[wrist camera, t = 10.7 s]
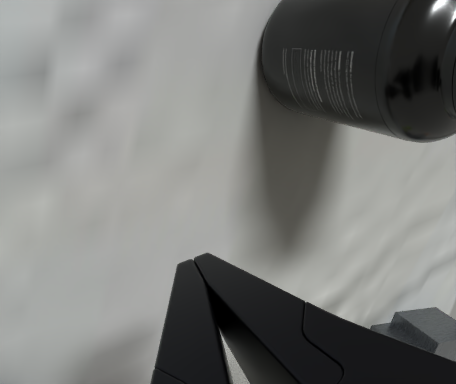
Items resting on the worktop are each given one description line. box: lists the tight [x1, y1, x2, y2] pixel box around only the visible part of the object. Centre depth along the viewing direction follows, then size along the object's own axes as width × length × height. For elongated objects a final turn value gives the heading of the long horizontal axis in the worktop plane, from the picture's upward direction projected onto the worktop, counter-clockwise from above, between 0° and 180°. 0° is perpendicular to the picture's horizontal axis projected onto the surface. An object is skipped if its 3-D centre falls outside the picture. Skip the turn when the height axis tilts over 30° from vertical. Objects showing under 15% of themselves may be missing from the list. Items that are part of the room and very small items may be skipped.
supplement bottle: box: [262, 0, 456, 143], centre depth 17 cm, size 7×7×12 cm
